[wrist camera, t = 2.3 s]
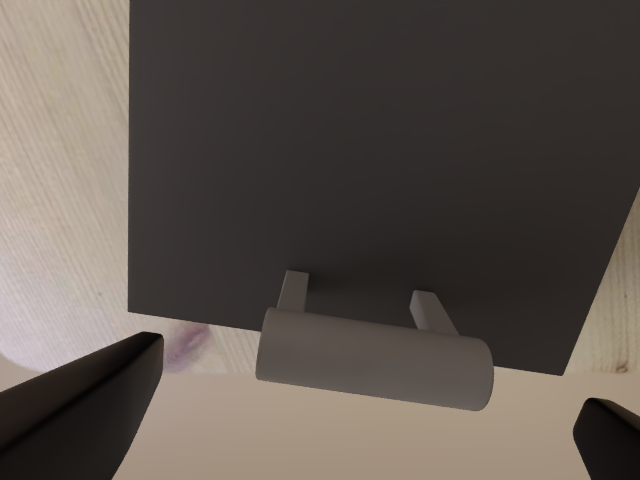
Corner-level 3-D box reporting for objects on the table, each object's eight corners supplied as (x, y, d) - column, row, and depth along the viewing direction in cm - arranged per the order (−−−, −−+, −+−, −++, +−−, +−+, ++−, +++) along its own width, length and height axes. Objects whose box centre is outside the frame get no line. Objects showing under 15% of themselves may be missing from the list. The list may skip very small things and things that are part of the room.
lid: (550, 362, 14) (672, 499, 9) (138, 301, 14) (29, 409, 9) (727, -90, 10) (1122, -290, 5) (145, -195, 10) (-53, -527, 5)
